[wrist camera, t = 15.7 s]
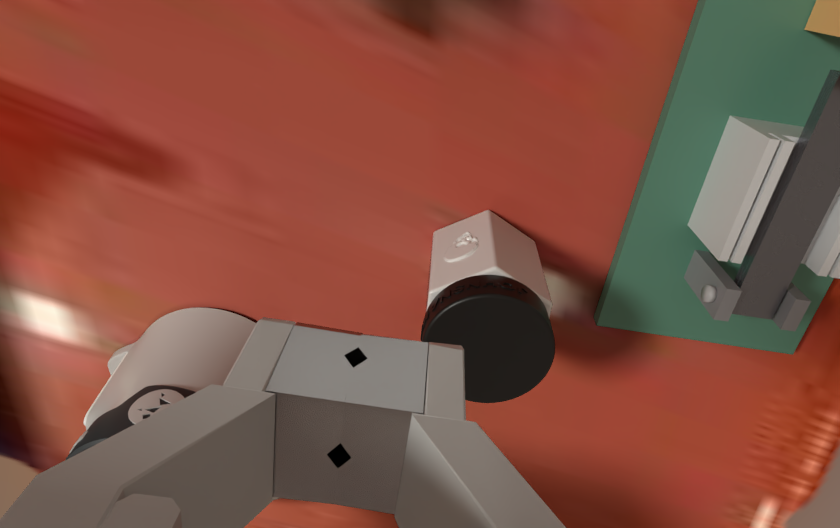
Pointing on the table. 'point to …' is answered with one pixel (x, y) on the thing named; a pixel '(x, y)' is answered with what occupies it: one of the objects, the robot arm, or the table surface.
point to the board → (681, 153)
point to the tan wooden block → (825, 18)
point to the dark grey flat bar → (794, 209)
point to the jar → (490, 306)
